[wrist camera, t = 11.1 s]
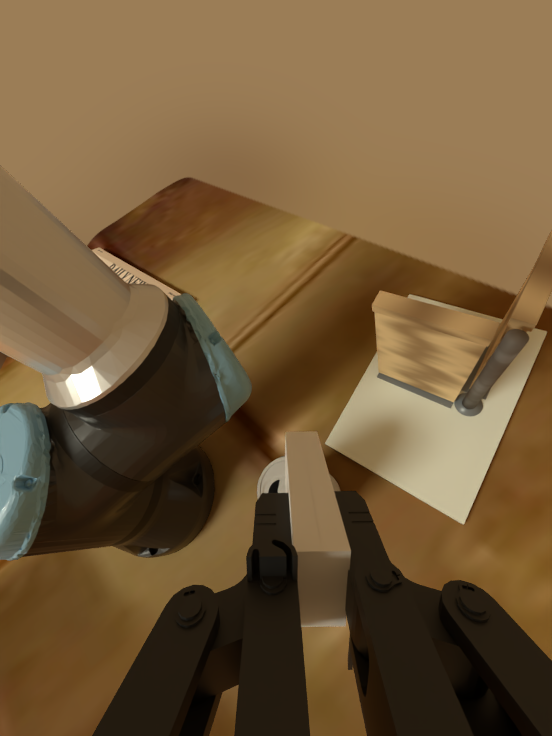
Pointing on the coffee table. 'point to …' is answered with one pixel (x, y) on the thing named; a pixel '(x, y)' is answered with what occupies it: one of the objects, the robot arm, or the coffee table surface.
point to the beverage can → (278, 478)
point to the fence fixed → (526, 301)
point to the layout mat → (431, 429)
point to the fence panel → (439, 347)
